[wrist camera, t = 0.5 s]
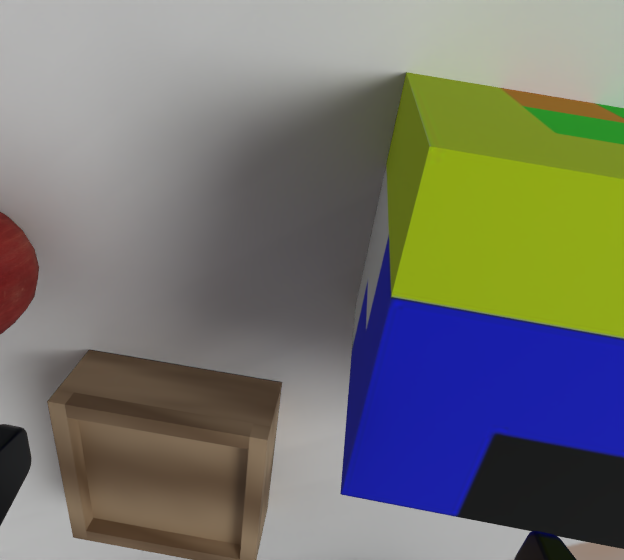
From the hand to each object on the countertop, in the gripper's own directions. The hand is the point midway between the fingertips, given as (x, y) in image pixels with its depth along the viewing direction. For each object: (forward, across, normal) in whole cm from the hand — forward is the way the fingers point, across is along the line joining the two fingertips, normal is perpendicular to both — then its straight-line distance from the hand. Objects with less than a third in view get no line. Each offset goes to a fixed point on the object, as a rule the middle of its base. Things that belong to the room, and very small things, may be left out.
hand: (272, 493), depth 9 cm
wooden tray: (+14, +6, +15) cm, 21 cm away
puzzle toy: (+14, -7, -1) cm, 16 cm away
